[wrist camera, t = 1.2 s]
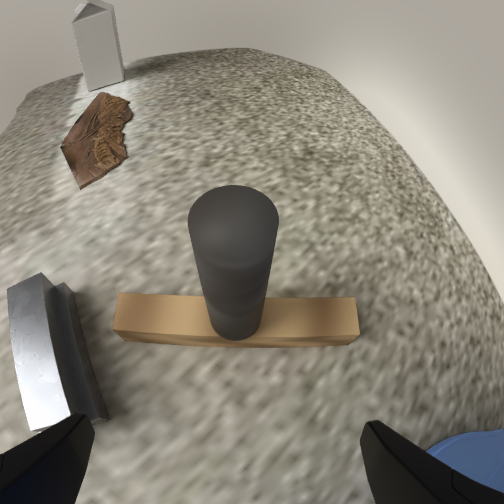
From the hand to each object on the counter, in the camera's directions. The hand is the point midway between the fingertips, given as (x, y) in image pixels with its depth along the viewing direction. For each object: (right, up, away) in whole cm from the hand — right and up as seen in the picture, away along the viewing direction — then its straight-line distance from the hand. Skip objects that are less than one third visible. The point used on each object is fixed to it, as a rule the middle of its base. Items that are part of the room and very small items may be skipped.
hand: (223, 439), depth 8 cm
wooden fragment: (-22, +23, +31) cm, 44 cm away
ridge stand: (-15, -4, +13) cm, 21 cm away
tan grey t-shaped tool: (0, 0, +16) cm, 16 cm away
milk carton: (-27, +39, +40) cm, 62 cm away
